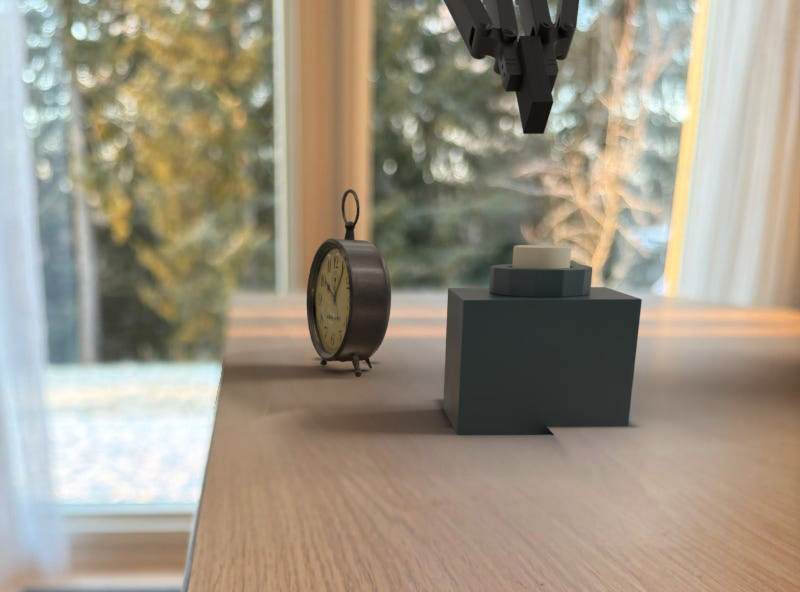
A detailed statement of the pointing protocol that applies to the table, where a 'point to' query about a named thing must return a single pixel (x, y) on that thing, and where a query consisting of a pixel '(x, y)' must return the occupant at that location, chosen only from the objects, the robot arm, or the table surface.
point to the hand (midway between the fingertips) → (538, 117)
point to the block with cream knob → (539, 353)
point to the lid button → (541, 256)
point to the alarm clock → (348, 297)
